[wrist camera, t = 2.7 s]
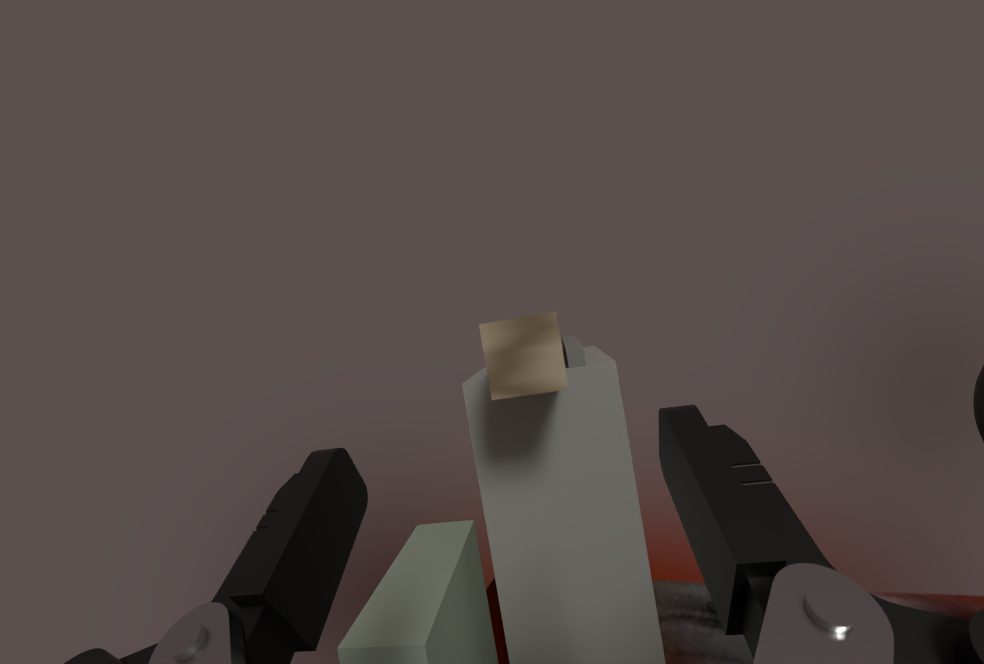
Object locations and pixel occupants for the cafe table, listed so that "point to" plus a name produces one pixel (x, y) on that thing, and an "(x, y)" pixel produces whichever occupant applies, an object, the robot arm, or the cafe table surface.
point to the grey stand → (565, 518)
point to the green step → (427, 605)
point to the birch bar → (524, 356)
